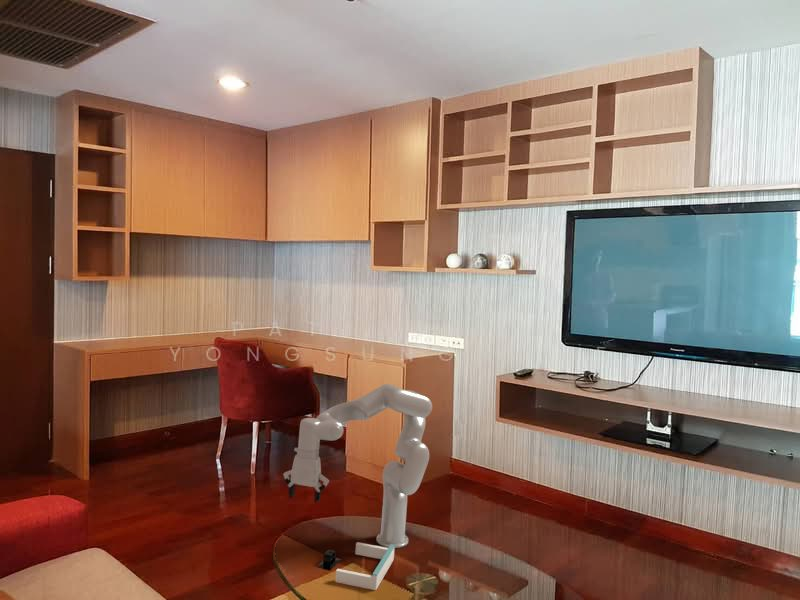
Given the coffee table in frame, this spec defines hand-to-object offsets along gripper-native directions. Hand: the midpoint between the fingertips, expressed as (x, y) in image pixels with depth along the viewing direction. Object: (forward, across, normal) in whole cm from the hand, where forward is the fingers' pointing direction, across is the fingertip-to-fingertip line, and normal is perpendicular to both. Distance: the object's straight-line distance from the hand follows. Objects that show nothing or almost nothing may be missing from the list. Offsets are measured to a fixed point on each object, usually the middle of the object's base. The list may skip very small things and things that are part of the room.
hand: (304, 499), depth 225 cm
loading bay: (+22, +26, 0) cm, 34 cm away
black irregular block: (+23, +11, +1) cm, 25 cm away
